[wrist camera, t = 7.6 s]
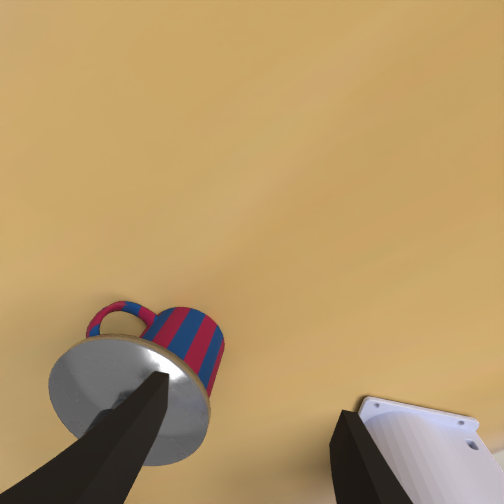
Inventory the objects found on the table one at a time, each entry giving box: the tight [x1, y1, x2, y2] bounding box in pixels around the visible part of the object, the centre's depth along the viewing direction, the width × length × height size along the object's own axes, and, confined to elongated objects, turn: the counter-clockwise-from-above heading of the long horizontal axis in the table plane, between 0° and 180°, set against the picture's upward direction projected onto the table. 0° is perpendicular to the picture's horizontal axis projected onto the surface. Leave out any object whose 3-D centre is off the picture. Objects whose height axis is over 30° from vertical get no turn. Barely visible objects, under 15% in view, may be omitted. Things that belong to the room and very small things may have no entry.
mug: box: [86, 301, 225, 398], centre depth 20 cm, size 7×10×7 cm
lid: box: [48, 334, 211, 466], centre depth 15 cm, size 10×10×4 cm
